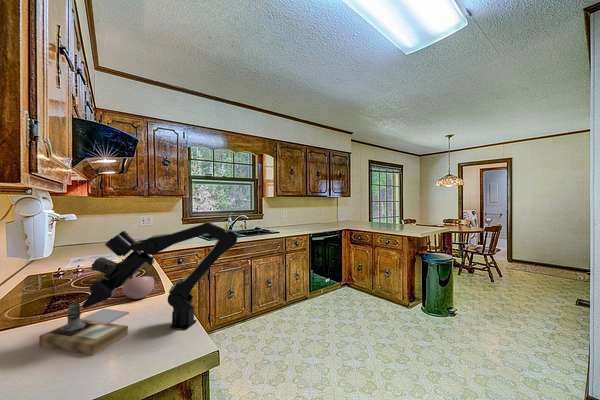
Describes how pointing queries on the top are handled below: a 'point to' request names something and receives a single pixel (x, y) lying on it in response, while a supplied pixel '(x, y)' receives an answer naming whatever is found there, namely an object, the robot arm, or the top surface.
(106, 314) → the slate tile
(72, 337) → the puzzle board
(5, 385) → the top surface
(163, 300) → the top surface
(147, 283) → the mortar and pestle
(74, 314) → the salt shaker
